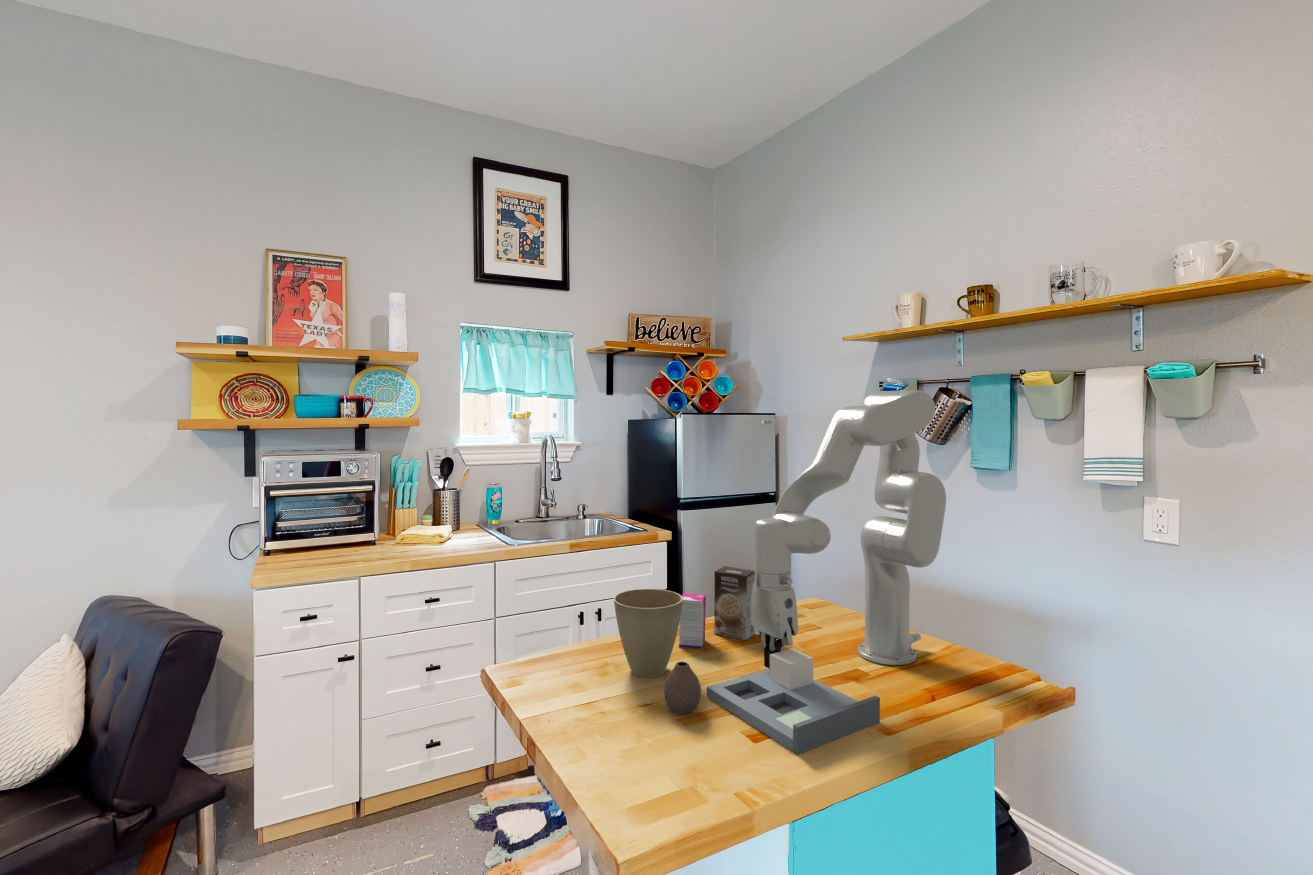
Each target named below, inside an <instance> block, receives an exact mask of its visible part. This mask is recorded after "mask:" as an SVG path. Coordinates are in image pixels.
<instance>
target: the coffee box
mask: <svg viewBox="0 0 1313 875" xmlns="http://www.w3.org/2000/svg"><path fill="white" fill-rule="evenodd" d="M753 584H754V569H746V568H740V567H739V568H738V567H733V566H726V565H725V566H724V565H723V566H722V567H720V568H717V570H715V571H714V592H713V593H714V598H713V600H714V602H713V603H714V606H713V607H714V608H713V609H714V611H713V612H714V613H713V614H714V616H713V617H714V624H713V626H714V628H713V630H714V631H713V634H715V635H720V636H724V637H730V638H734V639H740V640H741V641H742V640H743V641H747V640H748V639H749V638H751V637H752V636H753V635H755V634H756V632H755V631H754V627H753V626H752V624H751V597H752V589H753Z"/></svg>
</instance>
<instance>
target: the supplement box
mask: <svg viewBox="0 0 1313 875" xmlns="http://www.w3.org/2000/svg"><path fill="white" fill-rule="evenodd" d="M681 596H682V597H683V601H682V609H681V616H680V621H679V626H678V631H679V632H678V633H679V634H678V648H687V649H689V648H690V649H703V647H704V643H705V642H706V604H707V603H706V602H707V601H706V600H707V599H706V594H694V593H683V594H682V595H681Z"/></svg>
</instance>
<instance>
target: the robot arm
mask: <svg viewBox="0 0 1313 875" xmlns="http://www.w3.org/2000/svg"><path fill="white" fill-rule="evenodd" d="M935 413H936V405H935V401H934V400H933V397H932V396H930V394H929V393H927V392H925V391H923V390H920V389H919V390H918V389H917V390H916V389H910V390H909V389H908V390H884V391H883V390H882V391H876V392H872V393H870V394H869V395H867V396H866V397H865V398H864V400H863V402H862V405H852V406H845V407H841V408H839V409H838V410H837V411H836V412H835V413H834V414H833V416H832V418H831V420H830V422H829V424H828V427H827V429H826V431H825V433H824V435H823V438H822V440H821V442H820V443H819V447H818V449H817V450H816V453H815V455H814V457H813V460H812V462H811V464H810V465H809V466H808V467H807V468H806V469H805V470H803V472H801V473H800V474H799V475H798V476H797V477H796V478H794V480H793V481H792V482H790V484H789V485H788V486H787V487H786V489H785V490H784V491H783V492H782V494H781V495H780V497H779V500H778V502H777V504H776V506H775V509H774V510H773V513H772V515H771V517H764V518H760V519H758V520H756V521H755V523H754V526H753V536H754V537H753V538H754V539H753V548H754V549H753V555H754V556H753V559H754V560H753V562H754V564H753V568H754V569H753V571H754V584H753V589H752V597H751V624H752V626H753V627H754V631H755V634H757V635H758V636H759V637H760V640H761V646H762V648H763V661H764V663H763V666H764V667H765V668H767V669H770V654H773V653H777V652H781V651H782V649H783V648H784V647H785V646H786V647H789V646H791V645H792V646H793V644H794V641H793V637H794V636H797V635H798V633H799V621H798V620H799V619H798V618H799V617H798V606H797V605H798V604H797V598H796V592H795V589H794V587H792V585H793V579H792V554H806V555H812V554H813V555H814V554H817V553H820V552H822V551H824V550H825V549H826V548H827V547H828V546H829V544H830V542H831V530H830V528H829V526H828V525H827V524H826V523H825V522H824V521H823V520H821V519H819V518H816V517H813V516H809V515H805V512H806V511H807V510H808V507H809V506H810V505H811V504H812V503H813V502H814V501H815V500H816V499H818V498H819V497H820V496H822V495H824V494H826V493H828V492H830V491H833V490H836V489H837V488H840V487H842V486H844V485H846V484H847V483H848V482H849V481H850V478H851V476H852V474H853V472H854V469H855V467H856V464H857V462H858V461H859V458H860V456H861V453H862V451H863V448H864V447H867V446H868V447H879V457H878V458H879V460H878V464H877V471H876V478H875V485H874V491H873V494H874V495H873V496H874V501H875V502H876V505H877V506H878V507H880V508H881V509H884V510H886V511H889V512H895V513H901V514H906V515H907V516H906V519H903V518H897V517H892V516H883V515H881V516H880V515H879V516H874V517H871V518H870V519H867V521H865V523H864V524H863V526H862V528H861V531H860V545H861V549H862V556H863V563H864V641H863V642H861V643H860V644H859V645H857V653H858V654H859V656H861V658H863V659H865V660H867V661H870V662H873V663H876V664H881V665H888V666H904V665H909V664H912V663H914V662H916V660H917V658H918V657H917V655H918V654H917V652H916V650H915V649H914V648H912V645H913V643H915V642H919V641H921V639H922V637H921V636H922V635H921V634H920V633H919V632H912V633H910V600H911V599H910V598H911V597H910V590H911V589H910V586H911V585H910V581H911V580H910V575H909V572H908V568H907V566H908V567H912V568H920V569H922V568H926V567H928V566H930V565H932V564H933V562H934V561H935V560H936V558H937V556H938V552H939V550H940V547H941V546H940V545H941V540H942V534H943V527H944V521H945V520H944V519H945V512H946V507H947V493H946V489H945V485H944V483H943V482H942V480H941V479H940V478H939V477H938V476H936V475H935V474H932V473H929V472H922V471H919V464H920V454H921V452H920V450H921V449H920V443H919V441H918V438H917V436H916V434H915V433H918V432H919V431H922V430H924V429H925V428H926V427H928V426H929V425H930V424H931V423H932V421H933V419H934V416H935Z"/></svg>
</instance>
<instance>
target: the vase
mask: <svg viewBox="0 0 1313 875" xmlns="http://www.w3.org/2000/svg"><path fill="white" fill-rule="evenodd" d="M663 686H664V687H663V697H664V700H665V703H666V705H667V707H668V708H669V710H670V711H671V712H673V713H674V714H675V715H676V714H677V715H679V716H680V715H681V716H682V715H683V716H684V715H689V714H691V713H693V712H694V711H695V710H696V709H697V707H698V706H699V704H700V701H701V695H702V688H701V683H700V680H699V678H698V676H697V674H696V673H695V671H693V669H692V668H691V666H690V665H689V663H688V662H687V661H678V662H676V663H675V665H674V666H673V669H672V670H671V671H670V672H669V674H668V675H667V677H666V679H665V681H664V685H663Z"/></svg>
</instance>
